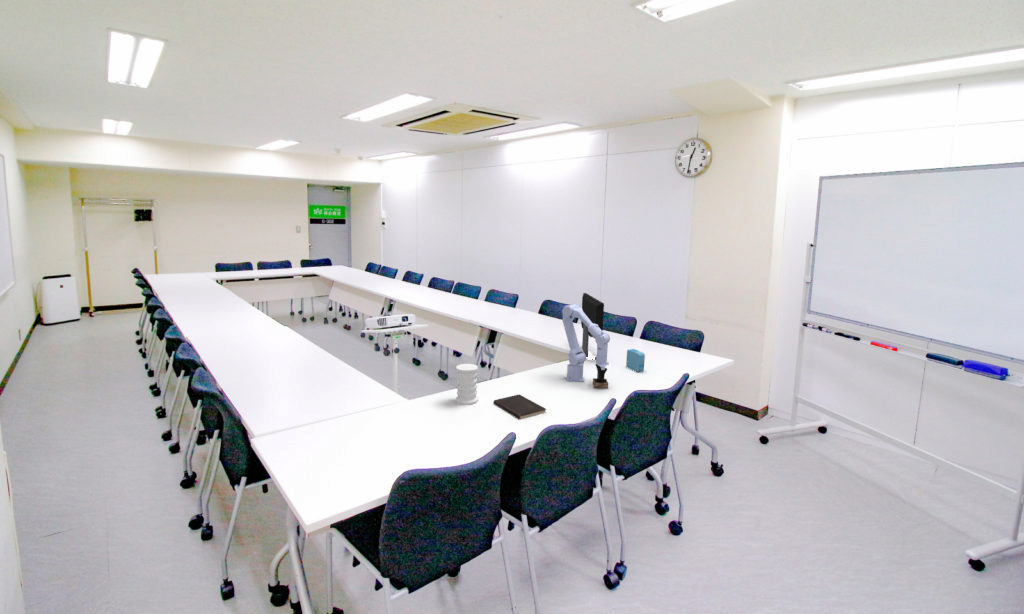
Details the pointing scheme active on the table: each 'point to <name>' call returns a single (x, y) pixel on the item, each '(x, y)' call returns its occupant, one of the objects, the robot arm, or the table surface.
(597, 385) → the brown square tray
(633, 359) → the data package
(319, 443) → the table surface
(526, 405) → the hardcover book
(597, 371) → the battery cell
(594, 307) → the computer monitor
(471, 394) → the decorative container
